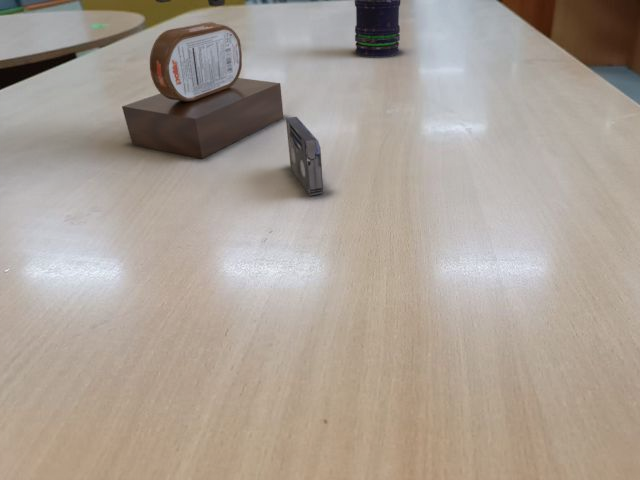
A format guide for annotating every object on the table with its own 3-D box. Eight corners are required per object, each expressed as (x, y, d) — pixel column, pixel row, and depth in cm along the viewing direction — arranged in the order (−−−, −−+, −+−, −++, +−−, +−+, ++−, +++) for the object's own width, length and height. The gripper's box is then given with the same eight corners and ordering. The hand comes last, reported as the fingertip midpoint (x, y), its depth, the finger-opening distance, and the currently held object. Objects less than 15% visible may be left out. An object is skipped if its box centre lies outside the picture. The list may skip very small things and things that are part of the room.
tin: (232, 80, 75) (223, 16, 70) (249, 82, 74) (241, 18, 69) (156, 107, 64) (139, 34, 59) (175, 111, 63) (159, 36, 58)
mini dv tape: (323, 194, 54) (320, 139, 51) (309, 196, 54) (305, 141, 50) (303, 166, 61) (299, 115, 57) (290, 168, 60) (285, 117, 57)
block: (131, 144, 67) (121, 106, 65) (220, 107, 81) (214, 74, 78) (202, 158, 63) (194, 118, 60) (283, 117, 76) (280, 83, 73)
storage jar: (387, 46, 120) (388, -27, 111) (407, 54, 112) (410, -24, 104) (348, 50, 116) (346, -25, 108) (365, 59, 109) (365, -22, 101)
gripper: (83, -168, 54) (124, 4, 63) (187, -179, 48) (215, 11, 58) (138, -160, 59) (168, -3, 68) (236, -169, 54) (255, 3, 63)
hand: (190, 3), depth 63 cm, fingers open, 8 cm apart
